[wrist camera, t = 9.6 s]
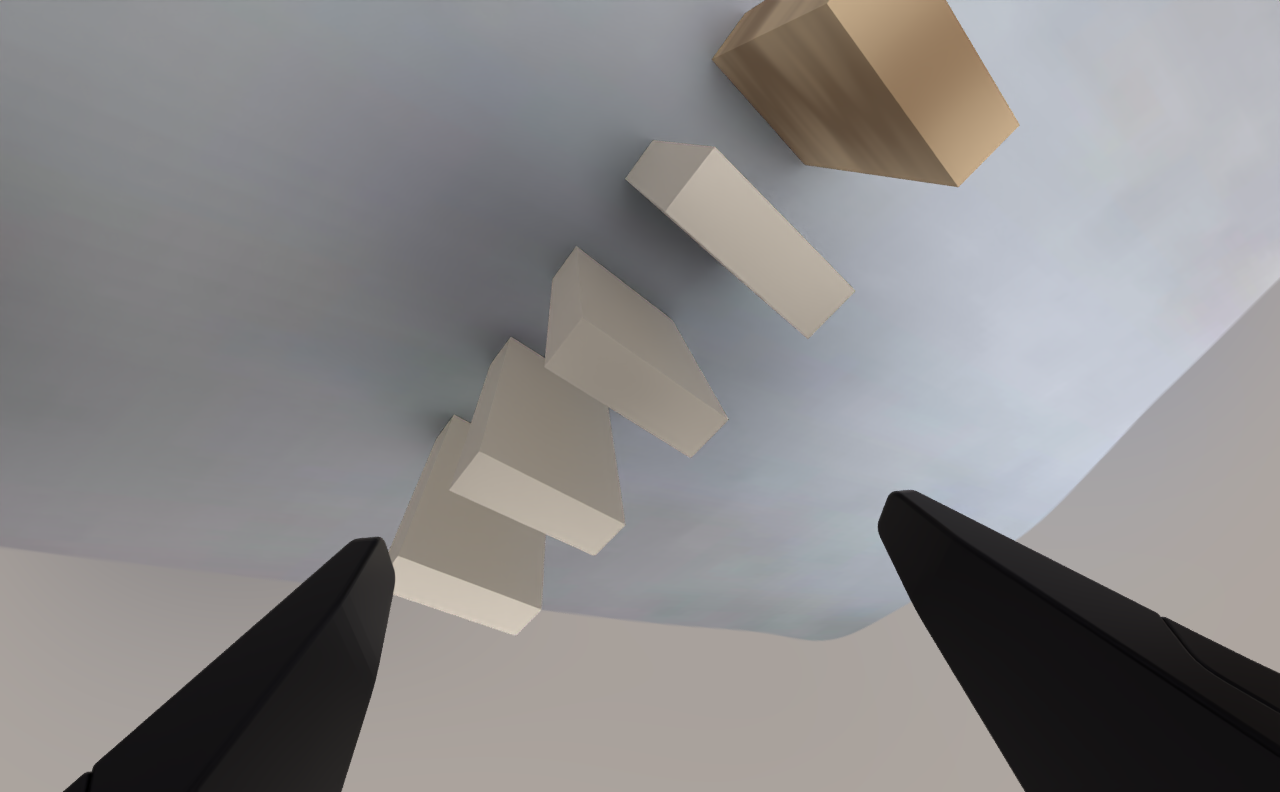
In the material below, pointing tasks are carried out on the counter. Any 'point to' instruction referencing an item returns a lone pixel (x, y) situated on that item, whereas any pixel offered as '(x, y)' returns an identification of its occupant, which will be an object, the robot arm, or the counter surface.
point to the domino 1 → (542, 453)
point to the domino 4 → (740, 231)
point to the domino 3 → (628, 355)
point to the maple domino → (870, 86)
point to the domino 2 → (466, 549)
